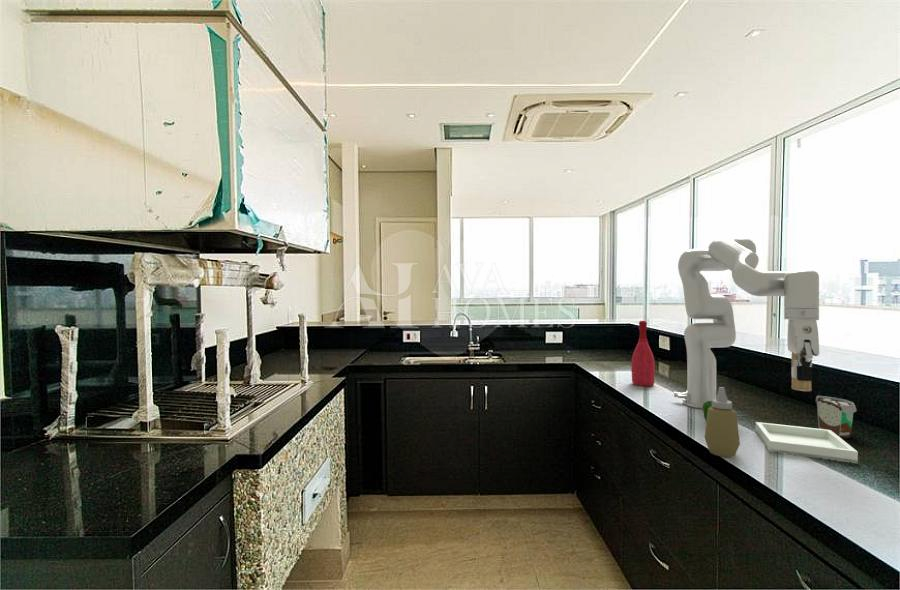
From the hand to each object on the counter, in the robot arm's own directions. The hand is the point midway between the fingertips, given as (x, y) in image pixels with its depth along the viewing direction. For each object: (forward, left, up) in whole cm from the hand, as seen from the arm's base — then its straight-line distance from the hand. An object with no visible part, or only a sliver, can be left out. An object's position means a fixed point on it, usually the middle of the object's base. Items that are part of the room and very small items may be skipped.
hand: (801, 378), depth 117 cm
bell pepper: (-19, +8, -20) cm, 28 cm away
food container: (+14, +18, -20) cm, 30 cm away
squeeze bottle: (-21, -16, -20) cm, 33 cm away
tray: (0, 0, -19) cm, 19 cm away
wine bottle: (-42, +65, -20) cm, 80 cm away
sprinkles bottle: (0, 0, -4) cm, 4 cm away
